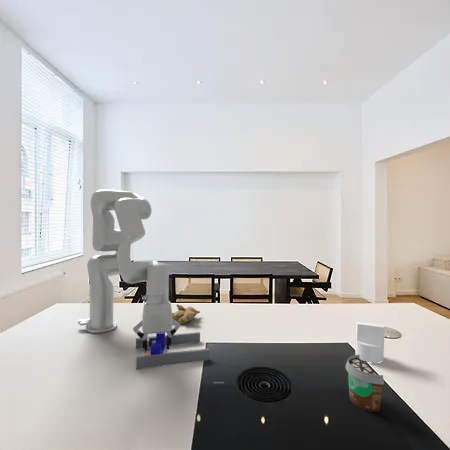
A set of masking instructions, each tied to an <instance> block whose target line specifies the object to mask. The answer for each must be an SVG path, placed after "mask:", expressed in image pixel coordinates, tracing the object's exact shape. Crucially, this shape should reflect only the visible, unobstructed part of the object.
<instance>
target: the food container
mask: <svg viewBox="0 0 450 450" xmlns="http://www.w3.org/2000/svg"><path fill="white" fill-rule="evenodd" d="M345 370H346V371H347V373H348V375H347V376H348V377H347V378H348V393H349V395H348V396H349V400H350V402H351V403H352V404H353V405H355V406H357V408H359V409H363V410H365V411H367V410H368V412H372V411H381V401H382V391H383V385H385V379H384V375H383V374H377V372H375V370H374V369H373V367H371V366H370V365H369V364H368V363H366V362H363V361H362V360H361V359H360V358H359V355H355V354H353V355H350V356H349V357H348V358H347V361H346V364H345Z"/></svg>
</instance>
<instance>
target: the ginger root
mask: <svg viewBox="0 0 450 450" xmlns="http://www.w3.org/2000/svg"><path fill="white" fill-rule="evenodd" d="M176 307H177V311H175V312H172V319H174V320H175V321H176V322H178V323H179V324H180V325H183V324H186V322H191V321H192V320H194V318H195V317H196V316H197V315H198V314H200V313H201V311H200V310H197V309H196V308H194V307H192V306H187V307H186V308H185V307H184V306H183V305H180V304H178V303H177V304H176Z"/></svg>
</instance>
